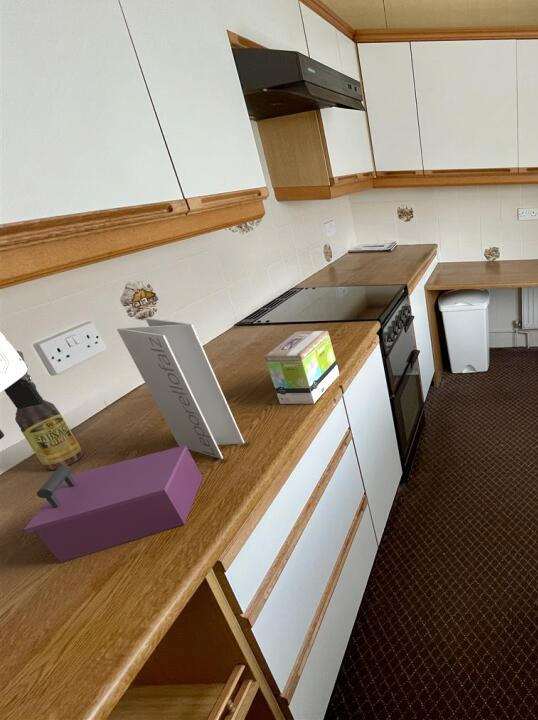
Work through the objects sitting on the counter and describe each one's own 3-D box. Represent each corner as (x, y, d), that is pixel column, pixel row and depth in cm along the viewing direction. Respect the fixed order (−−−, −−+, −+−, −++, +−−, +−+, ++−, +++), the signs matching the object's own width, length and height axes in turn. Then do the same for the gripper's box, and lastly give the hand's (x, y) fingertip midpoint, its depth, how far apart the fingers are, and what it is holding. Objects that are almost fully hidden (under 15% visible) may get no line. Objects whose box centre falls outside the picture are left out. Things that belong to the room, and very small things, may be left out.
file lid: (26, 533, 64) (7, 510, 62) (69, 479, 75) (54, 458, 72) (166, 492, 70) (153, 470, 68) (187, 448, 81) (176, 428, 78)
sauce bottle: (56, 474, 88) (0, 397, 79) (40, 468, 90) (-16, 392, 81) (92, 454, 93) (44, 380, 85) (77, 448, 95) (28, 376, 87)
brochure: (179, 446, 94) (116, 328, 81) (202, 431, 98) (146, 318, 85) (222, 458, 89) (162, 335, 76) (244, 442, 94) (192, 324, 81)
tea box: (316, 404, 106) (300, 354, 100) (279, 405, 107) (261, 355, 100) (341, 374, 120) (328, 329, 113) (308, 375, 120) (293, 330, 114)
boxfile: (60, 563, 68) (33, 530, 64) (96, 507, 78) (75, 477, 75) (184, 524, 73) (166, 492, 70) (202, 477, 84) (187, 448, 81)
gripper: (-77, 339, 50) (6, 448, 57) (15, 297, 64) (72, 388, 72) (-167, 353, 47) (-67, 465, 55) (-50, 306, 62) (16, 400, 69)
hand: (11, 422), depth 63 cm, fingers open, 9 cm apart
